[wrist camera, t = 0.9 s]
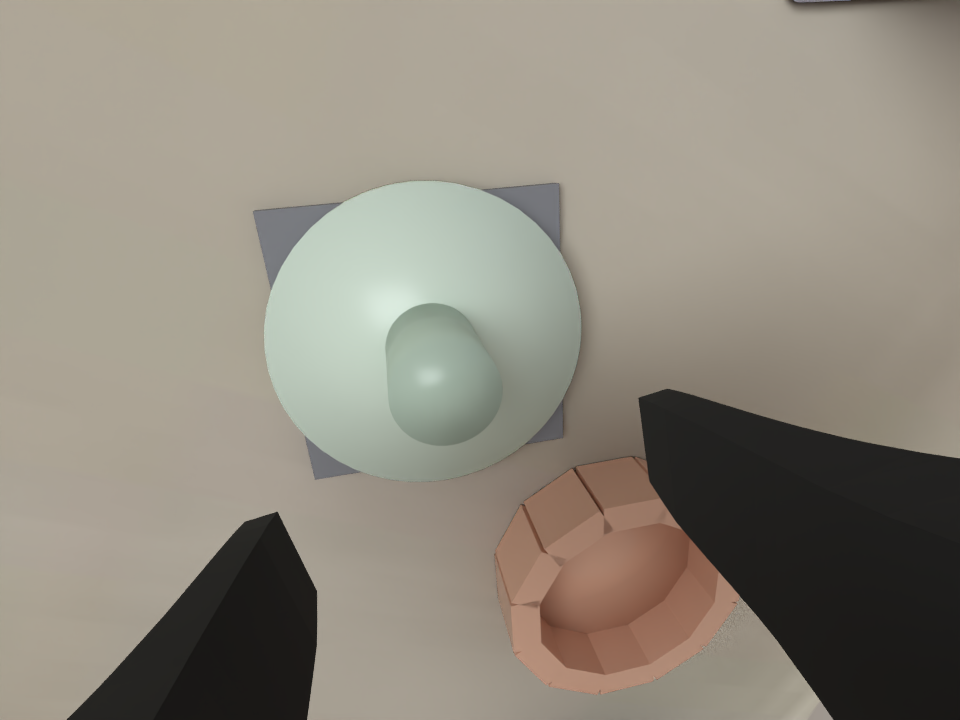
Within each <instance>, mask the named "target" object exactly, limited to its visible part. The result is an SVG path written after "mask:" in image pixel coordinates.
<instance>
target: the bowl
mask: <svg viewBox="0 0 960 720" xmlns="http://www.w3.org/2000/svg"><path fill="white" fill-rule="evenodd" d="M524 504H525V506H523V505H520V507H519V509H518V511H517V513H516V514H515V516H514V518H513V520H512V522H511V523H510V525H509V527H508V529H507V531H506V532H505V534H504V536H503V538H502V540H501V541H500V543H499V545H498V547H497V549H496V550H495V552H496V554H494V555H495V567H496V579H497V591H498V599H499V603H500V606H501V610H502V613H503V617H504V620H505V624H506V627H507V631H508V634H509V638H510V641H511V645H512V648H513V652H514V653H515V656H516V657H517V658H518V659H519V660H520V661H521V662H522V663H523V664H524V665H526V666H527V667H528V668H529V669H530V670H531V671H532V672H533V673H534V674H535V675H536V676H537V677H538V678H539V679H540V680H541V681H542V682H543V683H544V684H545V685H547V684H548V685H549V687H554V688H560V689H566V690H572V691H578V692H584V693H590V694H596V695H597V694H598V692H600V694H604V693H608V692H612V691H616V690H620V689H624V688H628V687H632V686H636V685H640V684H644V683H648V682H652V681H653V679H654V677H655V678H656V679H659V678H660V677H662V676H663V675H665V674H666V673H668V672H669V671H671V670H672V669H674V668H675V667H677V666H678V665H680V664H681V663H683V662H685V661H686V660H688V659H689V658H691V657H692V656H694V655H695V654H697V653H698V652H700V651H701V650H703V648H702V646H707V645H708V643H709V642H710V641H711V639H712V638H713V636H714V635H715V634H716V632H717V631H718V630H719V628H720V627H721V626H722V624H723V623H724V621H725V620H726V619H727V617H728V616H729V615H730V613H731V612H732V610H733V609H734V608H735V606H736V605H737V603H736V601H739V594H738V593H737V592H736V591H735V590H734V589H733V588H732V586H731V585H730V584H729V583H728V582H727V581H726V580H725V578H724V577H723V576H722V575H721V574H720V573H719V571H718V570H717V569H716V568H715V567H714V566H713V565H712V563H711V562H710V561H709V560H708V559H707V558H706V557H705V555H704V554H703V553H702V552H701V551H700V550H699V548H698V547H697V546H696V545H695V544H694V543H693V541H692V540H691V539H690V538H689V537H688V536H687V534H686V533H685V532H684V531H683V530H682V529H681V527H680V526H679V525H678V524H677V523H676V521H675V520H674V518H673V517H672V515H671V514H670V512H669V511H668V509H667V508H666V506H665V505H664V503H663V502H662V500H661V499H660V497H659V496H658V494H657V493H656V491H655V489H654V488H653V486H652V485H651V483H650V482H649V476H648V468H647V461H646V460H643V459H640V458H637V457H635V458H634V459H633V458H632V457H626V458H621V459H615V460H610V461H604V462H598V463H593V464H587V465H581V466H576V473H575V471H574V470H573V469H570V470H569V471H567V472H566V473H564V474H563V475H561V476H560V477H559V478H557V479H556V480H554V481H553V482H551V483H550V484H548V485H547V486H546V487H544V488H543V489H541V490H540V491H538V492H537V493H536V494H534V495H533V496H531V497H530V498H528V499H527V500H525V501H524ZM701 645H702V646H701Z"/></svg>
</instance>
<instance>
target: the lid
mask: <svg viewBox="0 0 960 720" xmlns="http://www.w3.org/2000/svg"><path fill="white" fill-rule="evenodd" d="M581 328H582V327H581V312H580V305H579V300H578V295H577V290H576V287H575V284H574V281H573V279H572V276H571V273H570V270H569V269H568V267H567V265H566V263H565V261H564V259H563V257H562V255H561V253H560V252H559V250H558V249H557V248H556V246H555V245H554V243H553V242H552V240H551V239H550V238H549V237H548V235H547V234H546V233H545V232H544V231H543V230H542V229H541V228H540V227H539V226H538V225H537V224H536V223H535V222H534V221H533V220H532V219H530V218H529V217H528V216H527V215H525V214H524V213H523V212H522V211H520V210H519V209H518V208H516V207H514V206H513V205H511V204H509V203H508V202H506V201H504V200H502V199H501V198H499V197H496V196H494V195H491V194H489V193H487V192H484V191H482V190H479V189H476V188H472V187H468V186H464V185H461V184H457V183H451V182H443V181H434V180H423V181H406V182H399V183H393V184H388V185H384V186H381V187H378V188H375V189H371V190H368V191H366V192H363V193H361V194H359V195H357V196H355V197H353V198H350V199H348V200H346V201H345V202H343V203H342V204H340V205H339V206H337V207H336V208H334V209H333V210H331V211H329V212H328V213H327V214H326V215H325V216H323V217H322V218H321V219H320V220H319V221H318V222H316V223H315V224H314V225H313V226H312V227H311V228H310V229H309V230H308V231H307V232H306V233H305V235H304V236H303V237H302V238H301V239H300V240H299V242H298V243H297V244H296V245H295V246H294V247H293V249H292V251H291V252H290V254H289V255H288V257H287V258H286V260H285V262H284V263H283V265H282V266H281V269H280V271H279V273H278V275H277V278H276V280H275V282H274V284H273V287H272V290H271V294H270V297H269V301H268V305H267V309H266V317H265V325H264V345H265V355H266V361H267V366H268V371H269V374H270V377H271V380H272V383H273V386H274V389H275V391H276V393H277V395H278V397H279V400H280V402H281V404H282V406H283V407H284V409H285V410H286V412H287V413H288V415H289V416H290V418H291V419H292V421H293V422H294V424H295V425H296V426H297V427H298V428H299V429H300V430H301V431H302V433H303V434H304V435H305V436H306V437H307V438H308V439H309V440H310V441H311V442H313V443H314V444H315V445H316V446H317V447H318V448H320V449H321V450H322V451H323V452H325V453H327V454H328V455H330V456H331V457H333V458H334V459H336V460H337V461H339V462H341V463H343V464H345V465H347V466H349V467H351V468H353V469H355V470H358V471H361V472H364V473H366V474H369V475H372V476H376V477H381V478H385V479H389V480H397V481H406V482H432V481H440V480H448V479H452V478H457V477H461V476H465V475H468V474H471V473H474V472H477V471H480V470H482V469H485V468H487V467H489V466H491V465H493V464H495V463H497V462H499V461H501V460H502V459H504V458H506V457H507V456H509V455H510V454H512V453H514V452H515V451H516V450H518V449H519V448H520V447H522V446H523V445H524V444H525V443H527V442H528V441H529V440H530V439H531V438H532V437H533V436H534V435H535V434H536V433H537V432H538V431H539V430H540V429H541V428H542V427H543V426H544V425H545V424H546V422H547V421H548V420H549V419H550V417H551V416H552V415H553V414H554V412H555V410H556V409H557V407H558V406H559V404H560V402H561V401H562V399H563V398H564V395H565V393H566V391H567V389H568V387H569V385H570V383H571V380H572V377H573V374H574V371H575V368H576V365H577V361H578V355H579V350H580V344H581Z"/></svg>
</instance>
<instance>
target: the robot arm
mask: <svg viewBox="0 0 960 720" xmlns="http://www.w3.org/2000/svg"><path fill="white" fill-rule="evenodd" d="M794 1H795V2H824V1H849V0H794ZM639 406H640V413H641V421H642V429H643V437H644V445H645V452H646V460H647V468H648V476H649V482H650V483H651V485H652V486H653V488H654V489H655V491H656V493H657V494H658V496H659V497H660V499H661V500H662V502H663V503H664V505H665V506H666V508H667V509H668V511H669V512H670V514H671V515H672V517H673V518H674V520H675V521H676V523H677V524H678V525H679V526H680V527H681V529H682V530H683V531H684V532H685V533H686V534H687V536H688V537H689V538H690V539H691V540H692V541H693V543H694V544H695V545H696V546H697V547H698V548H699V550H700V551H701V552H702V553H703V554H704V555H705V557H706V558H707V559H708V560H709V561H710V562H711V563H712V565H713V566H714V567H715V568H716V569H717V570H718V571H719V573H720V574H721V575H722V576H723V577H724V578H725V580H726V581H727V582H728V583H729V584H730V585H731V586H732V588H733V589H734V590H735V591H736V592H737V593H738V594H739V596H740V597H741V598H742V599H743V600H744V601H745V602H746V604H747V605H748V606H749V607H750V608H751V609H752V611H753V612H754V613H755V614H756V615H757V616H758V617H759V619H760V620H761V621H762V622H763V624H764V625H765V626H766V627H767V629H768V630H769V631H770V632H771V634H772V635H773V636H774V637H775V639H776V640H777V641H778V642H779V644H780V645H781V647H782V648H783V649H784V651H785V652H786V654H787V655H788V656H789V658H790V659H791V660H792V662H793V663H794V665H795V666H796V667H797V669H798V670H799V672H800V673H801V674H802V676H803V677H804V678H805V680H806V681H807V683H808V684H809V685H810V687H811V688H812V690H813V691H814V692H815V694H816V695H817V697H818V698H819V699H820V701H821V702H822V704H823V705H824V707H825V708H826V710H827V711H828V712H829V714H830V715H831V717H832V718H833V720H960V458H953V457H946V456H940V455H933V454H926V453H920V452H915V451H909V450H904V449H898V448H893V447H888V446H882V445H877V444H871V443H866V442H862V441H857V440H852V439H848V438H843V437H839V436H835V435H831V434H827V433H823V432H819V431H815V430H811V429H807V428H802V427H799V426H795V425H791V424H788V423H784V422H780V421H777V420H773V419H770V418H766V417H763V416H759V415H756V414H753V413H749V412H746V411H743V410H739V409H736V408H733V407H730V406H726V405H723V404H720V403H717V402H713V401H710V400H707V399H704V398H700V397H697V396H693V395H690V394H686V393H683V392H679V391H675V390H670V389H665V390H662V391H659V392H656V393H652V394H649V395H646V396H643V397H640V398H639ZM316 647H317V590H316V588H315V586H314V584H313V582H312V580H311V578H310V576H309V574H308V572H307V570H306V568H305V566H304V564H303V562H302V560H301V558H300V556H299V554H298V552H297V550H296V548H295V546H294V544H293V542H292V540H291V538H290V536H289V534H288V532H287V530H286V528H285V526H284V524H283V522H282V520H281V518H280V516H279V514H278V512H275V513H272V514H269V515H265V516H262V517H259V518H256V519H253V520H250V521H246V522H244V523H243V524H242V525H241V526H240V527H239V528H238V530H237V531H236V532H235V533H234V534H233V535H232V536H231V537H230V538H229V540H228V541H227V542H226V543H225V544H224V545H223V546H222V548H221V549H220V550H219V551H218V552H217V554H216V555H215V556H214V557H213V558H212V560H211V561H210V562H209V563H208V564H207V565H206V567H205V568H204V569H203V570H202V571H201V573H200V574H199V575H198V576H197V577H196V579H195V580H194V581H193V582H192V583H191V585H190V586H189V587H188V588H187V589H186V590H185V592H184V593H183V594H182V595H181V596H180V598H179V599H178V600H177V601H176V602H175V603H174V605H173V606H172V607H171V608H170V609H169V611H168V612H167V613H166V614H165V615H164V616H163V618H162V619H161V620H160V621H159V622H158V623H157V624H156V625H155V626H154V627H153V629H152V630H151V631H150V632H149V633H148V634H147V635H146V636H145V637H144V639H143V640H142V641H141V642H140V643H139V644H138V645H137V646H136V647H135V649H134V650H133V651H132V652H131V653H130V654H129V655H128V656H127V657H126V658H125V660H124V661H123V662H122V663H121V664H120V665H119V666H118V667H117V668H116V670H115V671H114V672H113V673H112V674H111V675H110V676H109V677H108V678H107V679H106V680H105V681H104V682H103V683H102V684H101V686H100V687H99V688H98V689H97V690H96V691H95V692H94V693H93V694H92V695H91V696H90V697H89V698H88V699H87V700H86V701H85V702H84V703H83V704H82V705H81V706H80V707H79V708H78V709H77V710H76V711H75V712H74V713H73V714H72V715H71V716H70V717H69V718H68V719H67V720H307V715H308V708H309V701H310V694H311V686H312V678H313V671H314V663H315V655H316Z"/></svg>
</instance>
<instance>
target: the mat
mask: <svg viewBox="0 0 960 720" xmlns="http://www.w3.org/2000/svg"><path fill="white" fill-rule="evenodd" d="M482 191H484V192H487V193H489V194H491V195H494V196H496V197H499V198H501V199H502V200H504V201H506V202H508V203H509V204H511V205H513V206H514V207H516V208H518V209H519V210H520V211H522V212H523V213H524V214H525V215H527V216H528V217H529V218H530V219H532V220H533V221H534V222H535V223H536V224H537V225H538V226H539V227H540V228H541V229H542V230H543V231H544V232H545V233H546V234H547V235H548V237H549V238H550V239H551V240H552V242H553V243H554V245H555V246H556V248H557V249H558V250H559V252H560V216H559V183H549V184H538V185H528V186H517V187H506V188H495V189H484V190H482ZM342 203H343V202H342ZM342 203H331V204H320V205H309V206H298V207H287V208H276V209H266V210H255V211H253V214H254V218H255V223H256V227H257V231H258V236H259V240H260V244H261V248H262V253H263V257H264V261H265V266H266V270H267V274H268V279H269V283H270V287H271V290H272V287H273V284H274V282H275V280H276V278H277V275H278V273H279V271H280V269H281V266H282V265H283V263H284V262H285V260H286V258H287V257H288V255H289V254H290V252H291V251H292V249H293V247H294V246H295V245H296V244H297V243H298V242H299V240H300V239H301V238H302V237H303V236H304V235H305V233H306V232H307V231H308V230H309V229H310V228H311V227H312V226H313V225H314V224H315V223H316V222H318V221H319V220H320V219H321V218H322V217H323V216H325V215H326V214H327V213H328V212H329V211H331V210H333V209H334V208H336V207H337V206H339V205H340V204H342ZM559 438H563V401H561V402H560V404H559V406H558V407H557V409H556V410H555V412H554V414H553V415H552V416H551V417H550V419H549V420H548V421H547V422H546V424H545V425H544V426H543V427H542V428H541V429H540V430H539V431H538V432H537V433H536V434H535V435H534V436H533V437H532V438H531V439H530V440H529V441H528V442H527V443H525V444H529V443H535V442H541V441H547V440H553V439H559ZM305 439H306V443H307V447H308V452H309V456H310V460H311V464H312V469H313V473H314V477H315V480H316V479H322V478H328V477H334V476H340V475H346V474H352V473H358V472H361V471H358V470H355V469H353V468H351V467H349V466H347V465H345V464H343V463H341V462H339V461H337V460H336V459H334V458H333V457H331V456H330V455H328V454H327V453H325V452H323V451H322V450H321V449H320V448H318V447H317V446H316V445H315V444H314V443H313V442H311V441H310V440H309V439H308V438H307V437H306V436H305Z"/></svg>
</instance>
